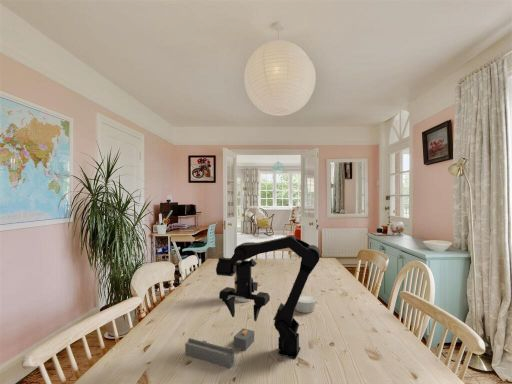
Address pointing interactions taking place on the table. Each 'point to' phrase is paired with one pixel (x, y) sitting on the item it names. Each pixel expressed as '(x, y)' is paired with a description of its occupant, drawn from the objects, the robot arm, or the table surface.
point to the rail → (210, 352)
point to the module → (243, 339)
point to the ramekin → (306, 303)
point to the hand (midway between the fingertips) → (244, 318)
